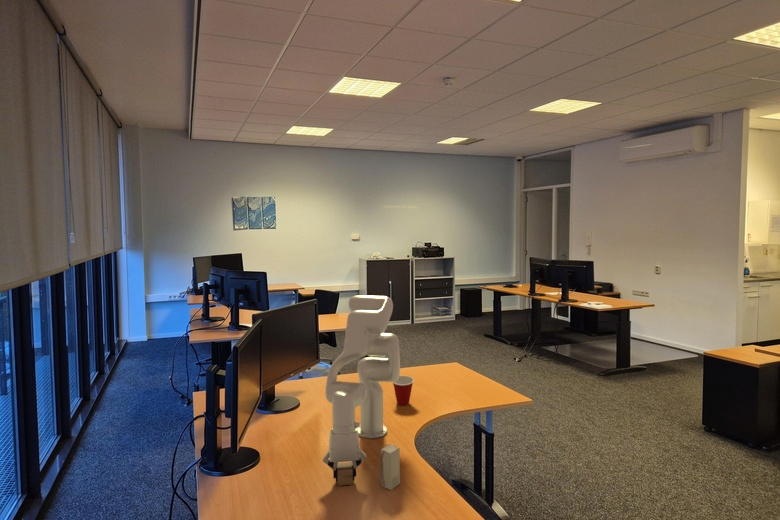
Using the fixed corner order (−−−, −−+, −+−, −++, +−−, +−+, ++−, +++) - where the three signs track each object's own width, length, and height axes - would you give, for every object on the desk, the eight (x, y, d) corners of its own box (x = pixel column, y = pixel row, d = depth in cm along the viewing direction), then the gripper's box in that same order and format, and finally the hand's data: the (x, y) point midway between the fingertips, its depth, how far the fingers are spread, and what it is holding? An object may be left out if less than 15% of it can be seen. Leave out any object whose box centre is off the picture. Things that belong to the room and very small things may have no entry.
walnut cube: (337, 477, 162) (337, 463, 161) (351, 476, 162) (351, 462, 162) (337, 485, 157) (337, 471, 156) (352, 484, 157) (352, 469, 157)
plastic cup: (389, 406, 224) (389, 382, 224) (394, 398, 235) (394, 374, 234) (411, 408, 222) (411, 383, 221) (416, 400, 232) (415, 376, 231)
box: (390, 479, 161) (390, 443, 160) (400, 484, 158) (400, 447, 157) (380, 486, 156) (379, 449, 155) (390, 491, 154) (390, 453, 153)
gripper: (368, 420, 163) (369, 471, 164) (318, 424, 160) (319, 475, 162) (370, 430, 155) (371, 483, 157) (318, 434, 153) (319, 487, 154)
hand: (344, 478), depth 159 cm, fingers closed on walnut cube, 4 cm apart
